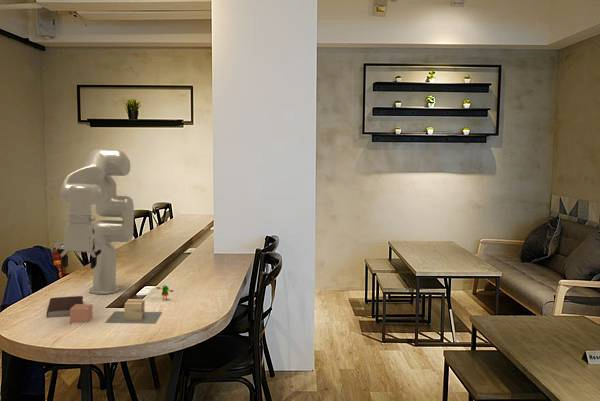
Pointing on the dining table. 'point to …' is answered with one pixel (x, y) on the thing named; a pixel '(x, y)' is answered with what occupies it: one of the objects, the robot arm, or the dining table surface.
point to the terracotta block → (81, 313)
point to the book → (62, 305)
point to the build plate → (147, 319)
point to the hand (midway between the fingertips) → (79, 267)
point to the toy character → (165, 291)
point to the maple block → (134, 309)
